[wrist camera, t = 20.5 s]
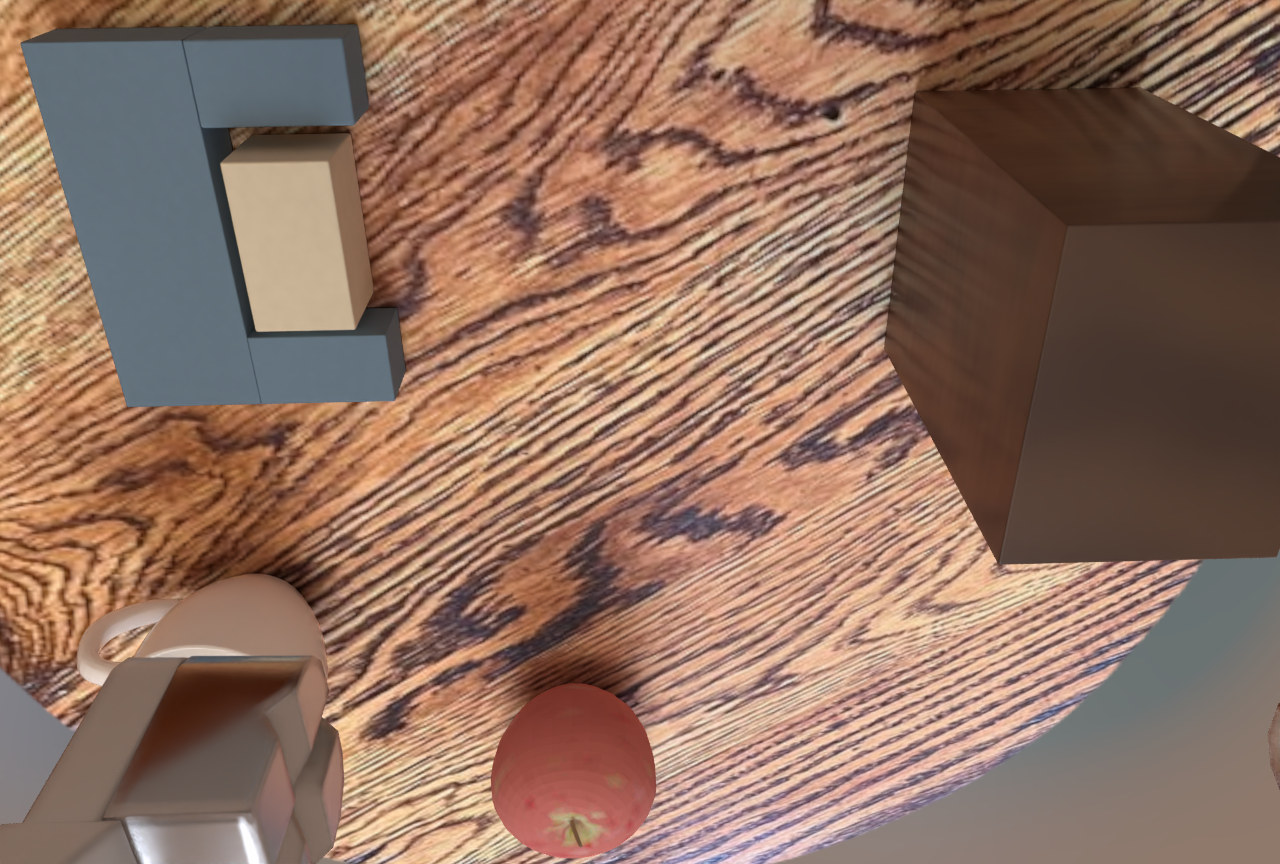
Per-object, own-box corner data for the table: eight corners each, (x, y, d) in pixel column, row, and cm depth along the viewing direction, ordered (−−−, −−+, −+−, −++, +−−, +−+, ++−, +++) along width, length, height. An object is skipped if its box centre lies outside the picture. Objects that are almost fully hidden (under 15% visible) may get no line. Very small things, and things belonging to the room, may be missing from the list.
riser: (914, 91, 37) (1067, 224, 25) (1140, 87, 37) (1403, 218, 25) (883, 349, 42) (997, 565, 30) (1082, 344, 42) (1277, 557, 30)
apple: (654, 649, 49) (662, 784, 42) (650, 759, 53) (657, 900, 46) (496, 650, 49) (478, 786, 42) (503, 761, 53) (488, 903, 46)
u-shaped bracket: (55, 28, 35) (19, 42, 33) (358, 23, 35) (342, 37, 33) (151, 376, 41) (126, 407, 39) (406, 371, 42) (395, 401, 39)
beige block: (250, 134, 37) (218, 162, 34) (350, 132, 37) (328, 160, 34) (282, 293, 40) (255, 332, 37) (374, 291, 40) (355, 330, 37)
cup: (332, 688, 50) (296, 803, 44) (114, 641, 48) (46, 754, 42) (363, 564, 46) (329, 671, 40) (129, 508, 44) (57, 612, 39)
